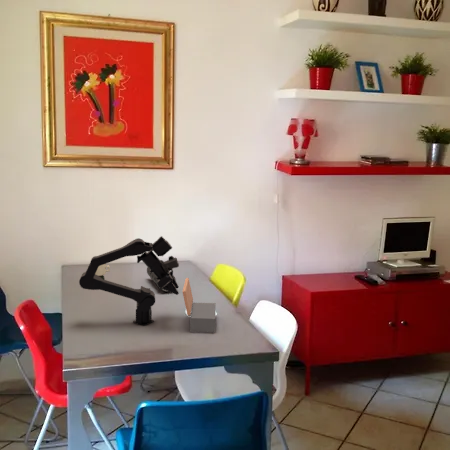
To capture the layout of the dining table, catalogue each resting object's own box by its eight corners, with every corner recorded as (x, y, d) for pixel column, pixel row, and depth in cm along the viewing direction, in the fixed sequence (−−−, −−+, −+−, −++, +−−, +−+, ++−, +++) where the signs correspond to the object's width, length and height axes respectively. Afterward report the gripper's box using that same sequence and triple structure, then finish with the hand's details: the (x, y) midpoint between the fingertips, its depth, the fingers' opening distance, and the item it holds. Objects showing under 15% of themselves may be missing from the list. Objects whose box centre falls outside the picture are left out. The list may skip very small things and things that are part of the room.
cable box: (190, 332, 214) (190, 318, 213) (193, 308, 243) (194, 296, 242) (214, 332, 214) (215, 318, 213) (215, 309, 243) (215, 296, 242)
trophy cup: (109, 284, 278) (109, 260, 276) (109, 288, 271) (109, 263, 269) (88, 285, 276) (88, 260, 274) (88, 289, 269) (87, 264, 267)
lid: (190, 317, 213) (187, 317, 213) (193, 301, 233) (190, 302, 233) (185, 291, 211) (182, 291, 211) (188, 277, 231) (185, 278, 231)
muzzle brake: (163, 279, 292) (163, 260, 290) (177, 293, 266) (177, 273, 264) (146, 280, 288) (146, 261, 287) (158, 295, 263) (158, 275, 261)
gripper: (168, 256, 211) (193, 285, 213) (169, 246, 229) (192, 273, 232) (146, 274, 211) (172, 302, 214) (149, 263, 229) (172, 289, 232)
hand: (177, 290), depth 223 cm, fingers open, 9 cm apart
